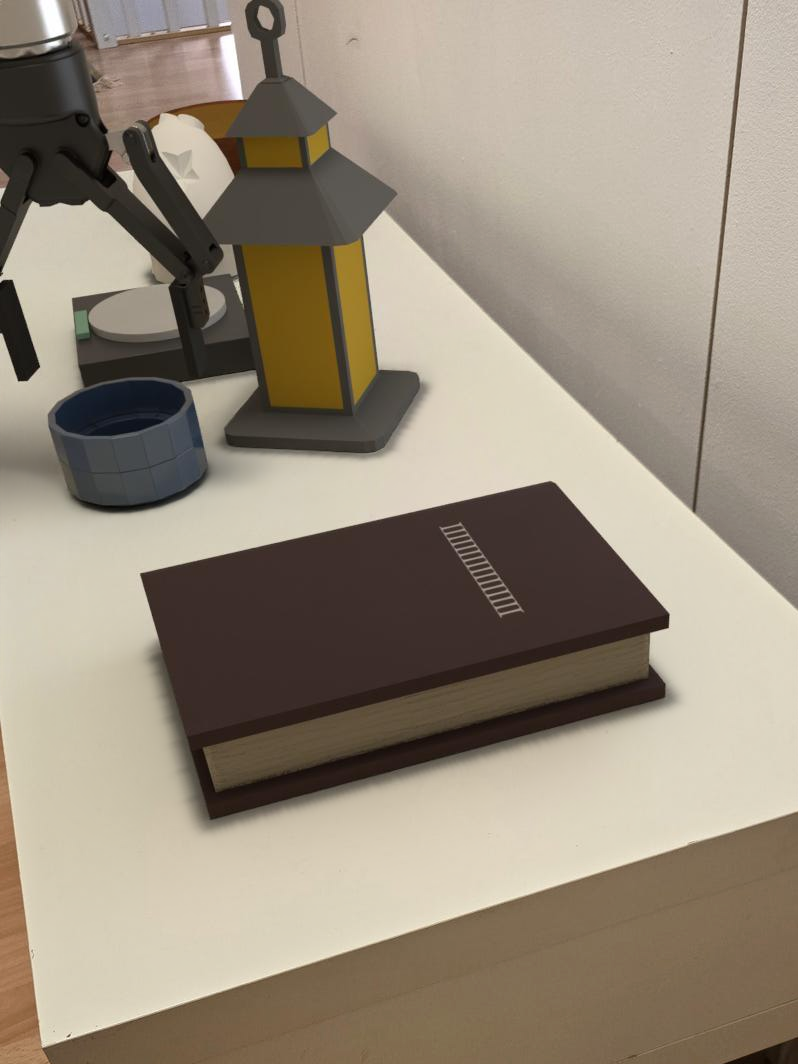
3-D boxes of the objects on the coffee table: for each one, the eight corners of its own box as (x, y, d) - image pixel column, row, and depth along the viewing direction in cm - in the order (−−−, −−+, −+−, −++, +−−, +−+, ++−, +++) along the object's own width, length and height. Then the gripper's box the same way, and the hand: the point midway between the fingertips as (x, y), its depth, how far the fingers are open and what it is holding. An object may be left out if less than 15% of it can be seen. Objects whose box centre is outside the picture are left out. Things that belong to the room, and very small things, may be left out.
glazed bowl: (49, 512, 96) (25, 439, 92) (97, 447, 104) (76, 377, 100) (186, 512, 94) (168, 438, 90) (224, 446, 102) (209, 376, 98)
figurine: (255, 286, 130) (226, 127, 119) (148, 298, 129) (110, 139, 119) (253, 252, 138) (226, 100, 127) (152, 263, 137) (117, 112, 127)
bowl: (159, 200, 154) (139, 110, 148) (297, 182, 157) (283, 92, 150) (167, 243, 142) (146, 147, 135) (316, 222, 144) (303, 127, 137)
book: (546, 547, 87) (544, 470, 83) (665, 696, 74) (669, 613, 70) (158, 639, 82) (136, 561, 78) (210, 819, 68) (186, 736, 64)
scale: (87, 397, 111) (75, 355, 109) (80, 328, 124) (69, 289, 121) (260, 368, 114) (252, 327, 111) (235, 303, 127) (228, 264, 124)
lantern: (380, 453, 100) (326, 15, 79) (220, 445, 103) (128, 21, 82) (423, 381, 110) (386, -25, 89) (276, 376, 112) (206, -19, 92)
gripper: (224, 20, 79) (283, 348, 94) (-131, 42, 83) (-21, 356, 97) (192, 46, 74) (260, 389, 89) (-186, 68, 77) (-61, 396, 92)
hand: (113, 372), depth 93 cm, fingers open, 13 cm apart
